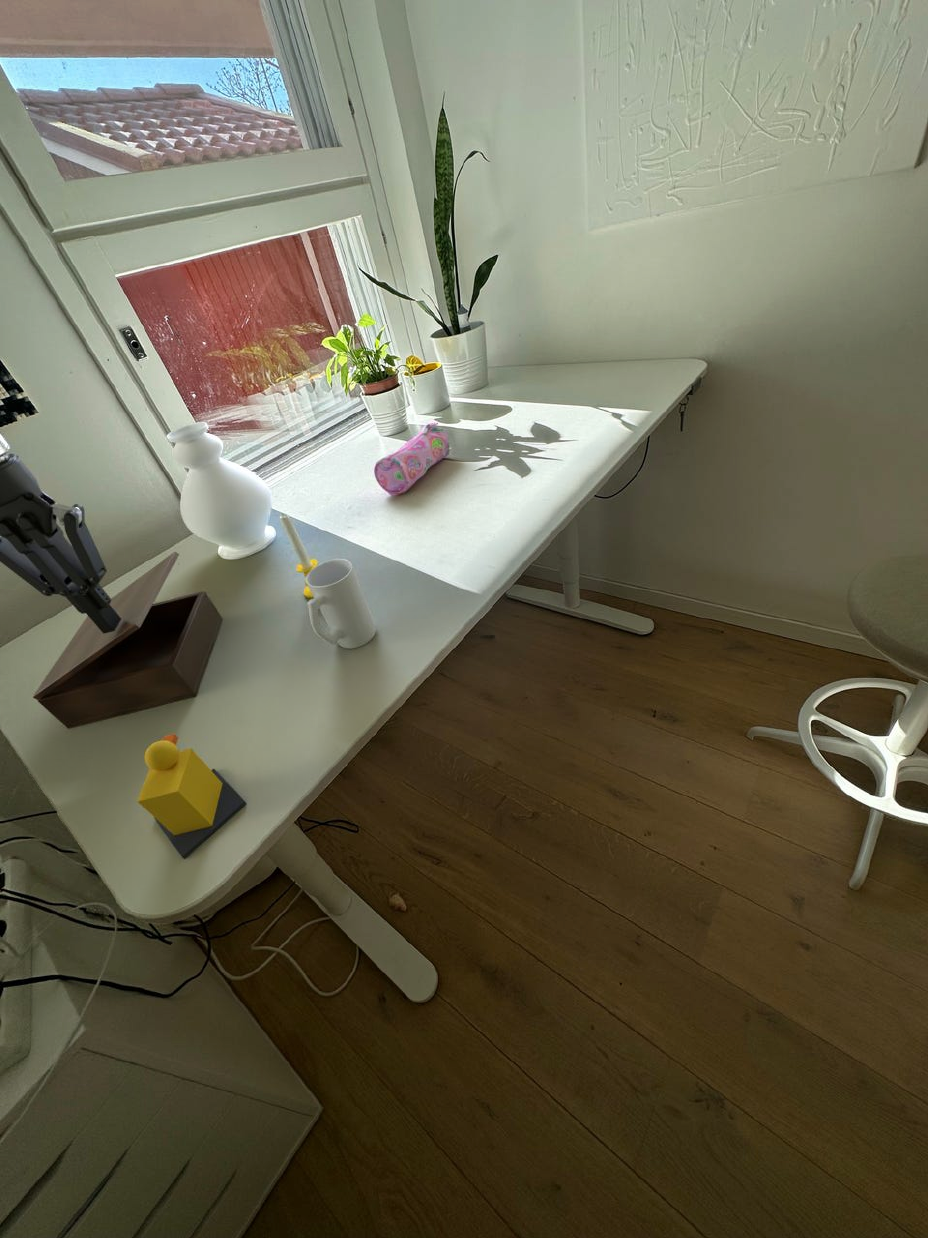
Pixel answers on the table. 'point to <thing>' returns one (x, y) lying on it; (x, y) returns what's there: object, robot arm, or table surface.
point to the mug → (339, 604)
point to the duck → (179, 787)
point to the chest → (143, 665)
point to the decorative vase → (221, 495)
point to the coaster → (224, 811)
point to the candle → (299, 551)
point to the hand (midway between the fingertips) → (112, 626)
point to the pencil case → (412, 460)
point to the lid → (94, 643)
